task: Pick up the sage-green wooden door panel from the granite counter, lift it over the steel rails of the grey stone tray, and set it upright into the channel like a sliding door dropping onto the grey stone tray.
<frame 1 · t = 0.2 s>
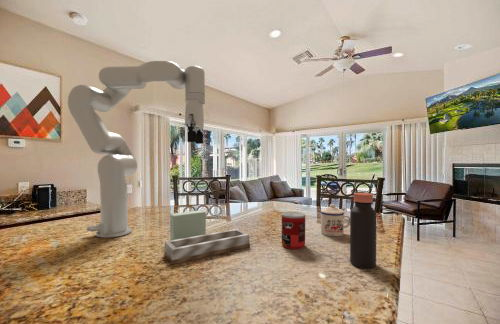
hand: (195, 142, 99), 36 cm above the worktop, tool pointing down, fingers open, 9 cm apart
teacup with lid: (335, 234, 100), on the worktop
door panel: (188, 239, 92), on the worktop
bottle: (362, 264, 71), on the worktop
canned food: (293, 246, 86), on the worktop
grey stone tray: (209, 250, 82), on the worktop
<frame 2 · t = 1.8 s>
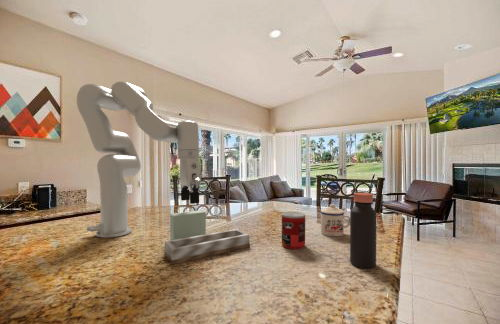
hand: (189, 201, 92), 14 cm above the worktop, tool pointing down, fingers open, 9 cm apart
nothing on the worktop moved.
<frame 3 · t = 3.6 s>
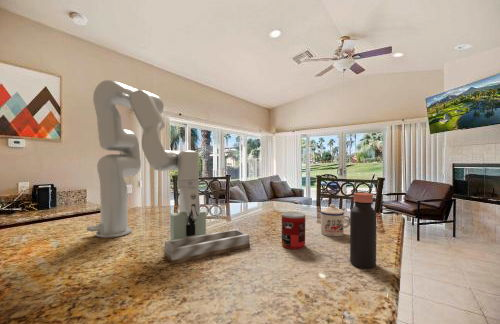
hand: (188, 233, 92), 2 cm above the worktop, tool pointing down, fingers closed on door panel, 4 cm apart
door panel: (188, 239, 92), on the worktop, touching gripper
everything else where it was.
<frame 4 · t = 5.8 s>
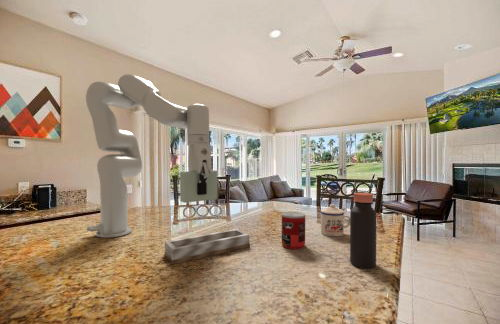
hand: (199, 193, 86), 18 cm above the worktop, tool pointing down, fingers closed on door panel, 4 cm apart
door panel: (199, 200, 87), point 16 cm above the worktop, touching gripper
everything else where it was.
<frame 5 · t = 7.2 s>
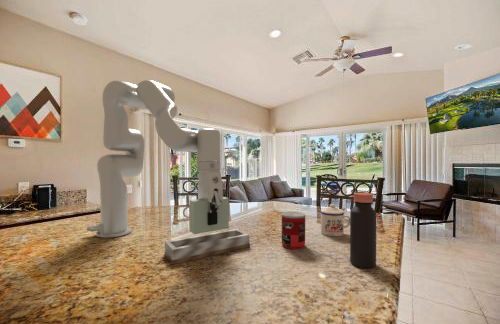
hand: (209, 222, 81), 9 cm above the worktop, tool pointing down, fingers closed on door panel, 4 cm apart
door panel: (209, 229, 81), point 7 cm above the worktop, touching gripper
everything else where it was.
when the fingers open (5 cm above the worktop, at t = 8.3 s): door panel drops 2 cm, resting on grey stone tray.
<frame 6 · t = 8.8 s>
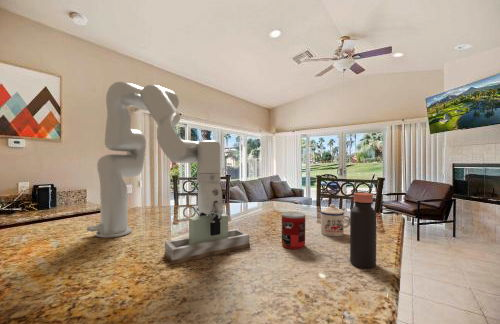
hand: (209, 231, 81), 6 cm above the worktop, tool pointing down, fingers open, 9 cm apart
door panel: (208, 247, 82), point 1 cm above the worktop, touching grey stone tray
everything else where it was.
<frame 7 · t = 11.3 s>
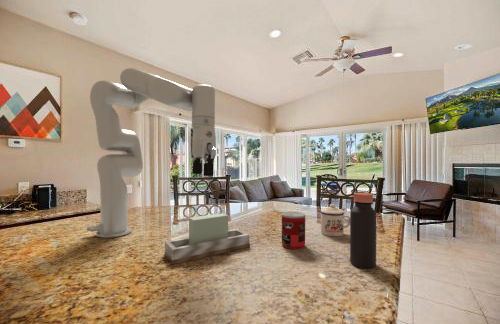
hand: (202, 174, 83), 25 cm above the worktop, tool pointing down, fingers open, 9 cm apart
nothing on the worktop moved.
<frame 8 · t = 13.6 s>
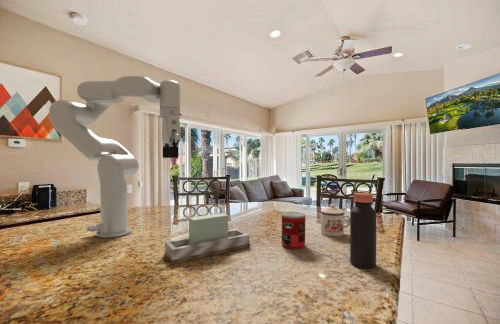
hand: (170, 157, 97), 30 cm above the worktop, tool pointing down, fingers open, 9 cm apart
nothing on the worktop moved.
at the end: door panel inside the target area on the grey stone tray (0.0 cm from its centre), point 1.0 cm above the grey stone tray's base; door panel tilted 0°; the gripper is holding nothing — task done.
